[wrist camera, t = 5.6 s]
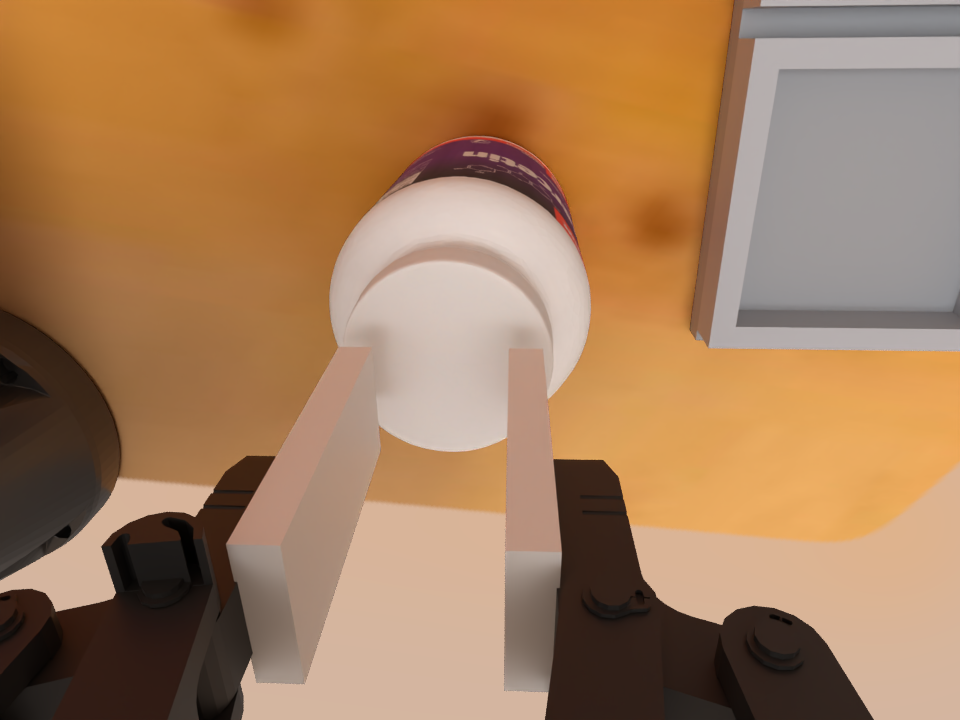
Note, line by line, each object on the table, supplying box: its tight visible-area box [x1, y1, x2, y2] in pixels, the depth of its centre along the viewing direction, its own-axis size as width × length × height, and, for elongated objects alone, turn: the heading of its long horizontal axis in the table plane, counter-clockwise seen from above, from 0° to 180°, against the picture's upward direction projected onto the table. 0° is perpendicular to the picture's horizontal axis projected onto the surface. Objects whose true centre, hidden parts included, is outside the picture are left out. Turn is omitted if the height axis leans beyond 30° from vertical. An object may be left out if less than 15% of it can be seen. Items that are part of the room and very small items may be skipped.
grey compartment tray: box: [690, 0, 960, 351], centre depth 25 cm, size 12×26×3 cm, turn 1°
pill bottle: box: [329, 136, 591, 452], centre depth 24 cm, size 8×8×14 cm
